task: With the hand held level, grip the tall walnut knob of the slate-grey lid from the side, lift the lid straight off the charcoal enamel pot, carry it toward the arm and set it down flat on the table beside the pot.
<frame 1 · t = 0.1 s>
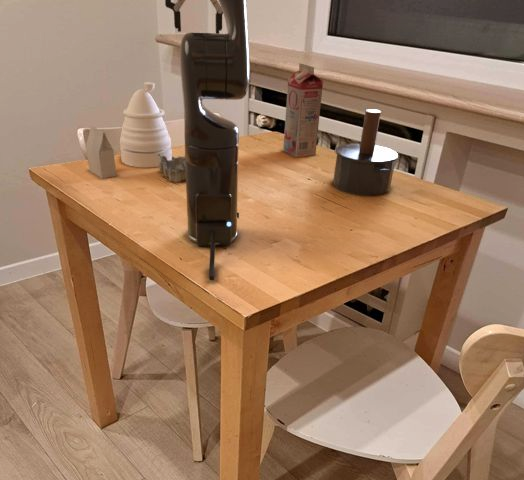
hand: (198, 32, 118), 29 cm above the table, tool pointing down, fingers open, 8 cm apart
milk carton: (299, 153, 148), on the table
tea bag: (103, 174, 126), on the table
pot: (361, 185, 128), on the table
honey pot: (147, 160, 136), on the table
egg carton: (178, 175, 128), on the table
lid: (366, 154, 123), point 7 cm above the table, touching pot
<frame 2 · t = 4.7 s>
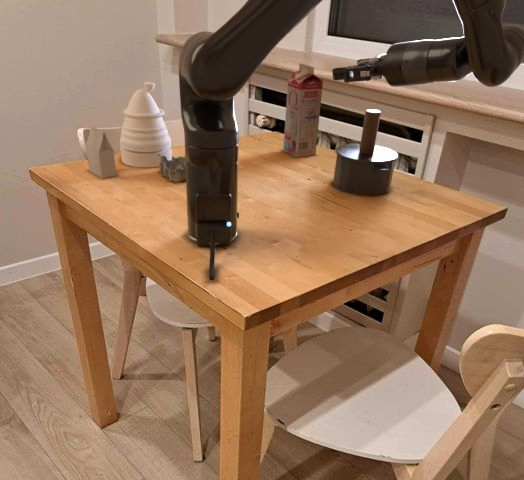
hand: (346, 69, 111), 25 cm above the table, tool horizontal, fingers open, 8 cm apart
nothing on the table moved.
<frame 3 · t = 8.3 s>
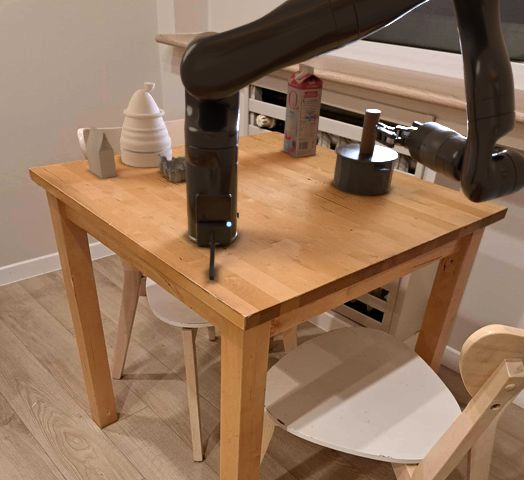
hand: (395, 127, 111), 16 cm above the table, tool horizontal, fingers open, 8 cm apart
nothing on the table moved.
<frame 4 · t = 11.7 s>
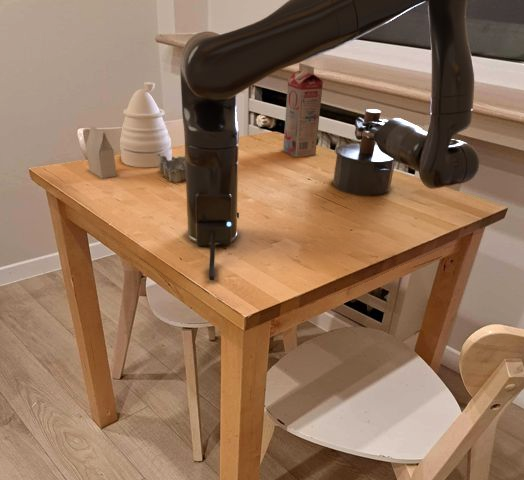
hand: (365, 122, 122), 14 cm above the table, tool horizontal, fingers closed on lid, 3 cm apart
lid: (366, 154, 123), point 7 cm above the table, touching gripper, pot
everything else where it was.
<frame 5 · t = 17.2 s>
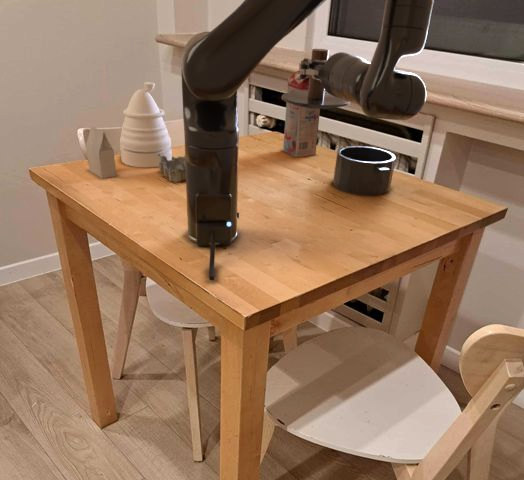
hand: (313, 64, 111), 26 cm above the table, tool horizontal, fingers closed on lid, 3 cm apart
lid: (315, 100, 112), point 19 cm above the table, touching gripper
everything else where it was.
when the fingers open (7 cm above the table, at t = 23.0 s): lid stays where it is, point 1 cm above the table.
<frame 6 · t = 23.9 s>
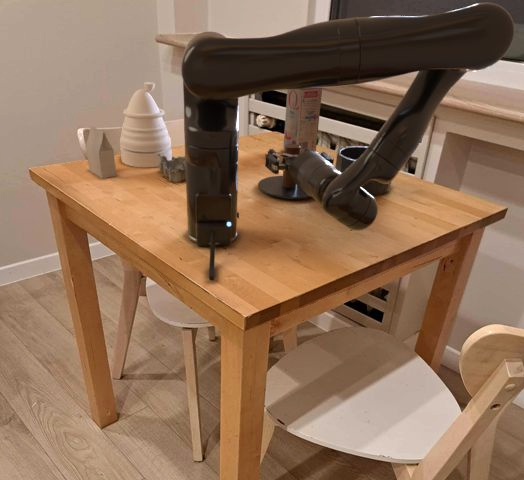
hand: (287, 152, 119), 8 cm above the table, tool horizontal, fingers open, 8 cm apart
lid: (289, 187, 122), point 1 cm above the table
everything else where it was.
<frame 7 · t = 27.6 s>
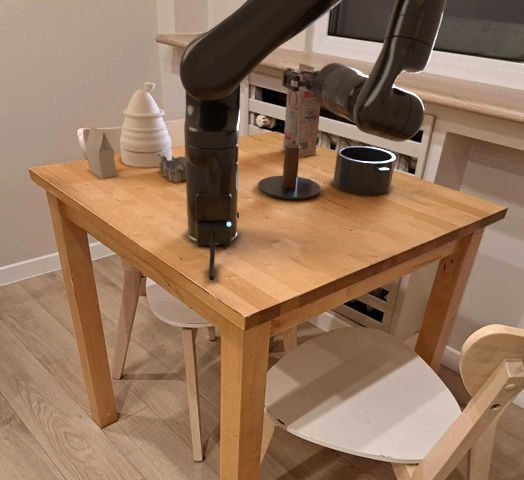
hand: (308, 74, 103), 25 cm above the table, tool horizontal, fingers open, 8 cm apart
nothing on the table moved.
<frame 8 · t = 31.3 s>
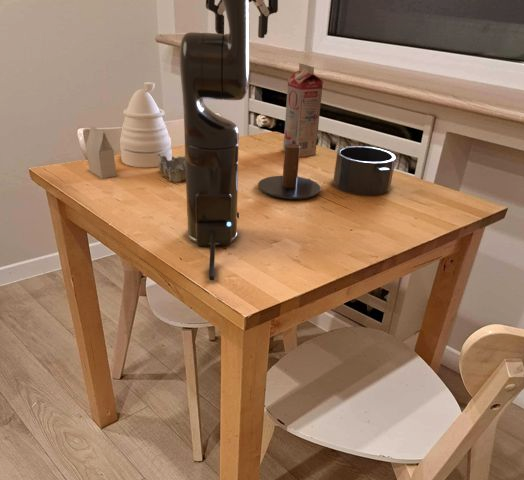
hand: (241, 37, 107), 30 cm above the table, tool pointing down, fingers open, 8 cm apart
nothing on the table moved.
at the end: lid inside the target area (0.5 cm from its centre), point 0.6 cm above the table; lid tilted 0°; the gripper is holding nothing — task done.
